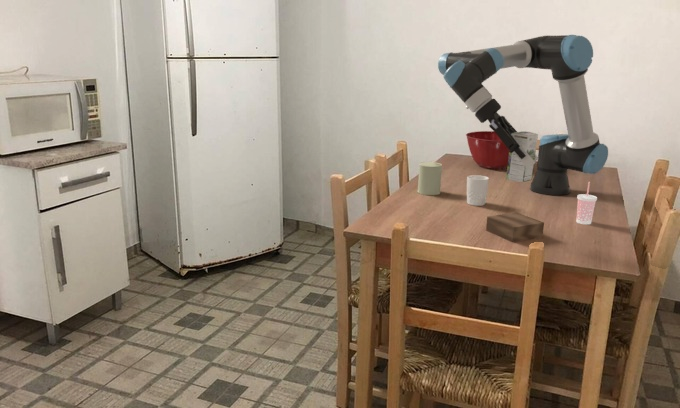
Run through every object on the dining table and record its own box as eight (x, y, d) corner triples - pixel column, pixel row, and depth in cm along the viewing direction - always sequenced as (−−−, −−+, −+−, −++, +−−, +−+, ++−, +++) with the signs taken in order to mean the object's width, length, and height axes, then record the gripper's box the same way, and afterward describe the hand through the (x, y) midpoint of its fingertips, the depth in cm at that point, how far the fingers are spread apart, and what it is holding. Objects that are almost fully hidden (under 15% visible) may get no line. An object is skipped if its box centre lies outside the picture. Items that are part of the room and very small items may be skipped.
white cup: (482, 207, 202) (485, 180, 199) (462, 204, 206) (464, 178, 203) (489, 202, 208) (491, 176, 206) (469, 199, 212) (471, 174, 210)
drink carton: (515, 177, 173) (520, 130, 169) (533, 180, 169) (538, 132, 165) (505, 179, 169) (510, 132, 165) (523, 183, 165) (528, 134, 161)
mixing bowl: (531, 173, 259) (535, 140, 255) (470, 172, 259) (473, 139, 255) (514, 161, 286) (517, 131, 282) (458, 160, 287) (460, 130, 282)
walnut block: (514, 226, 181) (516, 212, 180) (542, 238, 171) (544, 222, 170) (485, 231, 176) (487, 216, 175) (512, 243, 166) (514, 227, 165)
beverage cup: (581, 218, 190) (586, 178, 186) (597, 223, 185) (603, 182, 181) (569, 221, 187) (575, 180, 183) (586, 226, 182) (592, 184, 178)
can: (440, 196, 217) (442, 165, 214) (416, 194, 219) (418, 164, 216) (440, 190, 226) (442, 161, 223) (418, 188, 228) (419, 160, 224)
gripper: (480, 111, 179) (527, 165, 177) (466, 117, 162) (518, 177, 159) (499, 95, 175) (547, 150, 173) (486, 99, 158) (539, 161, 156)
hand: (533, 163), depth 166 cm, fingers closed on drink carton, 7 cm apart
